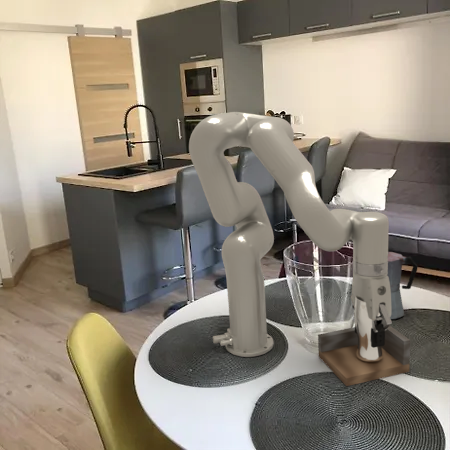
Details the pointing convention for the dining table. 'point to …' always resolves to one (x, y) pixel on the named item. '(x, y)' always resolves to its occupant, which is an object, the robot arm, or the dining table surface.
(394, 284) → the moka pot
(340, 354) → the wooden corner tray
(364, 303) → the beer glass
